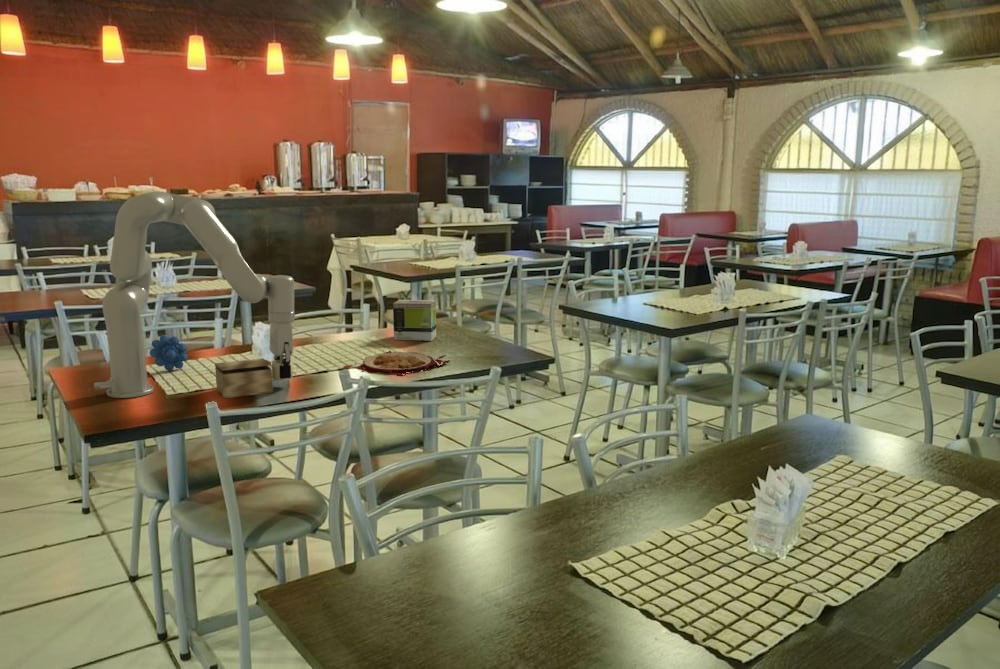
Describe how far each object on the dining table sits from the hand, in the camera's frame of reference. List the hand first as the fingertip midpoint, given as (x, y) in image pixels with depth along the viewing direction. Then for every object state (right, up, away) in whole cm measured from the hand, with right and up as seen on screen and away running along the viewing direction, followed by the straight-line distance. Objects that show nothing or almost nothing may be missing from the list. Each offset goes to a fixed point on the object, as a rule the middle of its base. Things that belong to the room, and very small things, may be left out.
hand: (282, 375), depth 247 cm
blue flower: (-41, 0, +19) cm, 45 cm away
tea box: (+33, +10, +72) cm, 80 cm away
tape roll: (0, -1, 0) cm, 1 cm away
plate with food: (+31, +1, +28) cm, 42 cm away
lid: (-10, +3, -6) cm, 12 cm away
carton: (-10, -5, -4) cm, 12 cm away
